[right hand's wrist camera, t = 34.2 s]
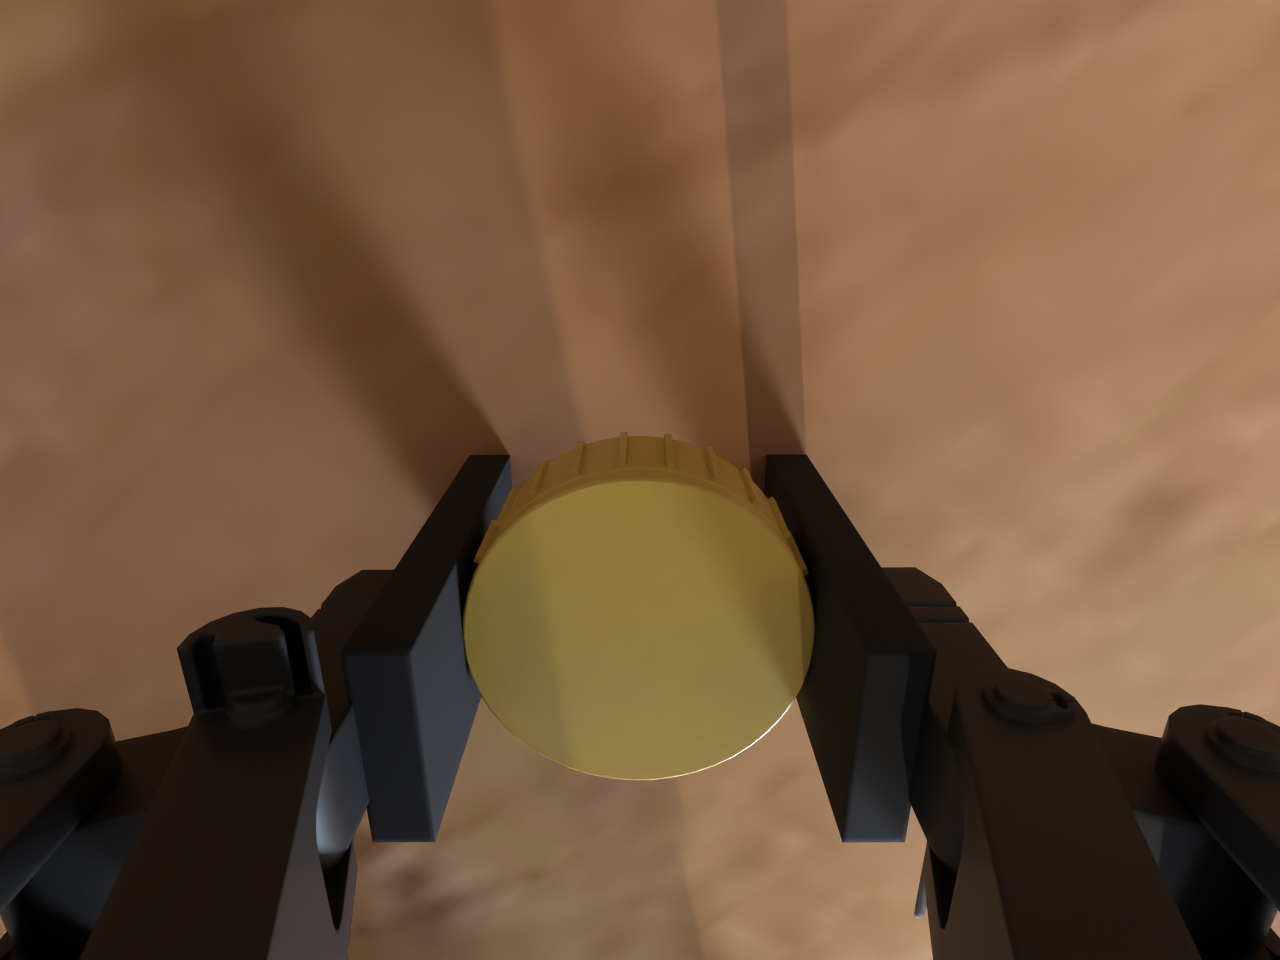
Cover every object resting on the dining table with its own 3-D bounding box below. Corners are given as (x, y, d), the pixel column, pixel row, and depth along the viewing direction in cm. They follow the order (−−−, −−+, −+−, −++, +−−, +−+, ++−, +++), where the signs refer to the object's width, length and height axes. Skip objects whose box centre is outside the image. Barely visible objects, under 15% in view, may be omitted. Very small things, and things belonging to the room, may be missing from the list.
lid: (842, 635, 12) (874, 706, 11) (579, 747, 13) (570, 829, 12) (712, 372, 11) (725, 406, 9) (422, 519, 12) (384, 574, 10)
